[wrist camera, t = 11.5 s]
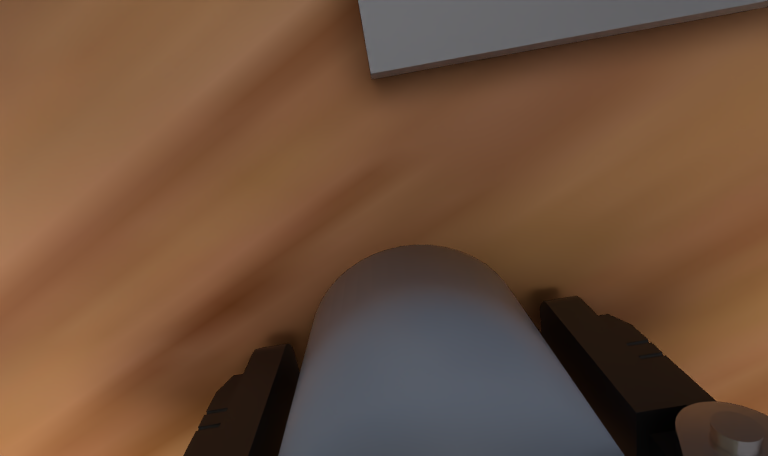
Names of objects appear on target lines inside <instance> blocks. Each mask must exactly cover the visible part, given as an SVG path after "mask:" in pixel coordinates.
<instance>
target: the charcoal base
mask: <svg viewBox="0 0 768 456" xmlns="http://www.w3.org/2000/svg"><path fill="white" fill-rule="evenodd" d="M358 4H359V9H360V15H361V21H362V27H363V32H364V38H365V44H366V50H367V56H368V61H369V67H370V73H371V79H377V78H382V77H388V76H393V75H399V74H404V73H410V72H415V71H420V70H426V69H431V68H437V67H442V66H448V65H453V64H459V63H464V62H470V61H475V60H480V59H486V58H491V57H497V56H502V55H508V54H513V53H519V52H524V51H530V50H535V49H540V48H546V47H551V46H557V45H562V44H568V43H573V42H579V41H584V40H590V39H595V38H600V37H606V36H611V35H617V34H622V33H628V32H633V31H639V30H644V29H650V28H655V27H660V26H666V25H671V24H677V23H682V22H688V21H693V20H699V19H704V18H710V17H715V16H720V15H726V14H731V13H737V12H742V11H748V10H753V9H759V8H764V7H768V0H358Z"/></svg>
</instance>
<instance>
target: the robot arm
mask: <svg viewBox="0 0 768 456" xmlns="http://www.w3.org/2000/svg"><path fill="white" fill-rule="evenodd" d="M540 318H541V331H542V337H543V338H544V339H545V341H546V342H547V344H548V345H549V347H550V348H551V350H552V351H553V353H554V354H555V355H556V357H557V358H558V360H559V361H560V363H561V364H562V366H563V367H564V368H565V370H566V371H567V373H568V374H569V376H570V377H571V379H572V380H573V382H574V383H575V384H576V386H577V387H578V389H579V390H580V392H581V393H582V395H583V396H584V398H585V399H586V400H587V402H588V403H589V405H590V406H591V408H592V409H593V411H594V412H595V413H596V415H597V416H598V418H599V419H600V421H601V422H602V424H603V425H604V427H605V428H606V429H607V431H608V432H609V434H610V435H611V437H612V438H613V440H614V441H615V442H616V444H617V445H618V447H619V448H620V450H621V451H622V453H623V454H624V456H768V416H767V415H765V414H763V413H760V412H758V411H755V410H753V409H750V408H747V407H744V406H740V405H736V404H732V403H725V402H716V401H715V400H714V399H713V398H712V397H711V396H710V395H709V394H708V393H707V392H705V391H704V390H703V389H702V388H701V387H700V386H699V385H698V384H697V383H695V382H694V381H693V380H692V379H691V378H690V377H689V376H688V375H687V374H685V373H684V372H683V371H682V370H681V369H680V368H679V367H678V366H677V365H676V364H674V363H673V362H672V361H671V360H670V359H669V358H668V357H667V356H663V355H662V352H661V351H660V350H659V349H658V348H657V347H656V346H655V345H653V344H652V343H649V342H648V339H647V338H646V337H645V336H643V335H642V334H641V333H640V332H639V331H638V330H637V329H636V328H635V327H633V326H632V325H631V324H629V323H626V322H624V321H622V320H620V319H618V318H616V317H613V316H611V315H609V314H606V315H600V316H598V315H597V314H596V313H595V312H594V311H593V310H592V309H591V308H590V307H589V306H588V305H587V304H586V303H585V302H584V301H583V300H582V299H581V298H579V297H578V296H572V297H566V298H560V299H554V300H548V301H543V302H542V303H541V305H540ZM299 374H300V372H299V368H298V364H297V361H296V357H295V353H294V350H293V348H292V346H291V345H290V344H282V345H276V346H270V347H264V348H258V349H255V350H254V352H253V354H252V356H251V358H250V361H249V363H248V365H247V367H246V369H245V372H244V374H240V375H234V376H233V377H232V378H231V379H230V380H229V381H227V382H226V383H225V384H224V385H223V386H222V387H221V388H220V389H219V390H218V391H217V392H216V394H215V396H214V398H213V400H212V402H211V403H210V405H209V407H208V409H207V415H204V417H203V419H202V421H201V423H200V425H199V427H198V428H199V430H198V431H196V432H195V434H194V436H193V438H192V440H191V442H190V444H189V446H188V448H187V450H186V452H185V454H184V455H183V456H278V455H279V451H280V447H281V444H282V440H283V436H284V432H285V428H286V424H287V421H288V417H289V413H290V409H291V405H292V401H293V398H294V394H295V390H296V386H297V382H298V378H299Z"/></svg>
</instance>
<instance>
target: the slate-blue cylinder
mask: <svg viewBox="0 0 768 456" xmlns="http://www.w3.org/2000/svg"><path fill="white" fill-rule="evenodd" d="M278 456H624V454H623V453H622V451H621V450H620V448H619V447H618V445H617V444H616V442H615V441H614V440H613V438H612V437H611V435H610V434H609V432H608V431H607V429H606V428H605V427H604V425H603V424H602V422H601V421H600V419H599V418H598V416H597V415H596V413H595V412H594V411H593V409H592V408H591V406H590V405H589V403H588V402H587V400H586V399H585V398H584V396H583V395H582V393H581V392H580V390H579V389H578V387H577V386H576V384H575V383H574V382H573V380H572V379H571V377H570V376H569V374H568V373H567V371H566V370H565V368H564V367H563V366H562V364H561V363H560V361H559V360H558V358H557V357H556V355H555V354H554V353H553V351H552V350H551V348H550V347H549V345H548V344H547V342H546V341H545V339H544V338H543V337H542V335H541V334H540V332H539V331H538V329H537V328H536V326H535V325H534V323H533V322H532V321H531V319H530V318H529V316H528V315H527V313H526V312H525V310H524V309H523V308H522V306H521V305H520V303H519V302H518V300H517V299H516V297H515V296H514V294H513V293H512V292H511V290H510V289H509V287H508V286H507V284H506V283H505V282H504V281H503V280H502V279H501V277H500V276H499V275H498V274H497V273H496V272H495V271H493V270H492V269H491V268H490V267H488V266H487V265H486V264H484V263H483V262H481V261H479V260H478V259H476V258H474V257H473V256H470V255H468V254H465V253H463V252H461V251H458V250H454V249H450V248H447V247H441V246H434V245H409V246H400V247H396V248H392V249H387V250H384V251H382V252H379V253H376V254H373V255H371V256H369V257H367V258H365V259H363V260H362V261H360V262H358V263H357V264H355V265H354V266H352V267H351V268H349V269H348V270H347V271H346V272H345V273H343V274H342V275H341V276H340V277H339V278H338V279H337V280H336V281H335V282H334V284H333V285H332V286H331V287H330V288H329V290H328V291H327V292H326V294H325V296H324V297H323V299H322V301H321V302H320V305H319V307H318V309H317V311H316V314H315V317H314V321H313V325H312V328H311V332H310V336H309V340H308V344H307V348H306V351H305V355H304V359H303V363H302V367H301V371H300V374H299V378H298V382H297V386H296V390H295V394H294V398H293V401H292V405H291V409H290V413H289V417H288V421H287V424H286V428H285V432H284V436H283V440H282V444H281V447H280V451H279V455H278Z"/></svg>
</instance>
